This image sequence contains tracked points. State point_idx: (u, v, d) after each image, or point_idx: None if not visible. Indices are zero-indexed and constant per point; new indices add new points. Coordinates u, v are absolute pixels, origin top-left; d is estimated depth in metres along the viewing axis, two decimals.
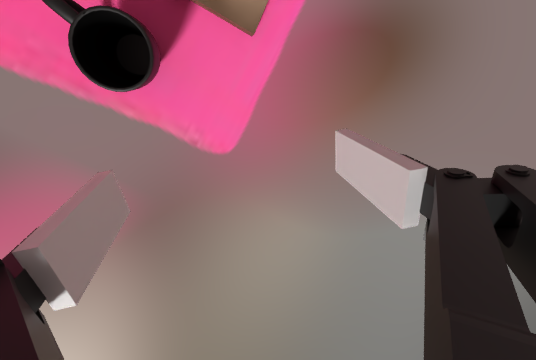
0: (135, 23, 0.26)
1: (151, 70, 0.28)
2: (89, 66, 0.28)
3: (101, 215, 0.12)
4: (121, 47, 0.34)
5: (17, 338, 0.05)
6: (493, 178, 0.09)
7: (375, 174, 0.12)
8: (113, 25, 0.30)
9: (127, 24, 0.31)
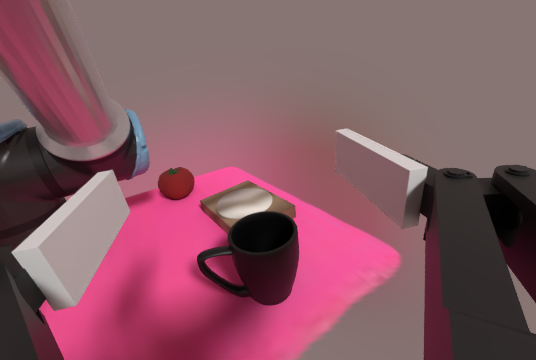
0: (254, 213, 0.33)
1: (288, 216, 0.31)
2: None
3: (101, 215, 0.12)
4: None
5: (17, 338, 0.05)
6: (493, 178, 0.09)
7: (375, 174, 0.12)
8: None
9: None
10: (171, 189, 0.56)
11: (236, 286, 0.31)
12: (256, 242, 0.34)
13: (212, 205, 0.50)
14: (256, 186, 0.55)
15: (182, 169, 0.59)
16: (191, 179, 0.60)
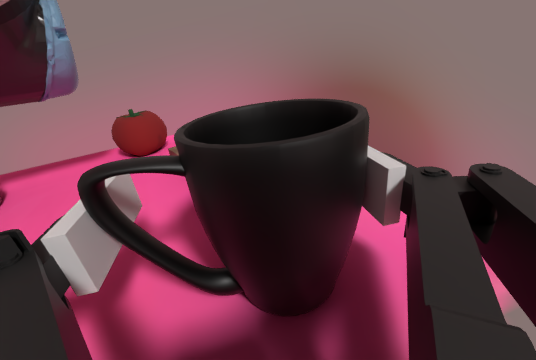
0: (250, 105, 0.14)
1: None
2: None
3: None
4: None
5: (44, 322, 0.06)
6: (468, 177, 0.09)
7: None
8: None
9: None
10: (129, 136, 0.38)
11: (204, 269, 0.13)
12: None
13: None
14: None
15: (147, 112, 0.41)
16: (161, 127, 0.41)
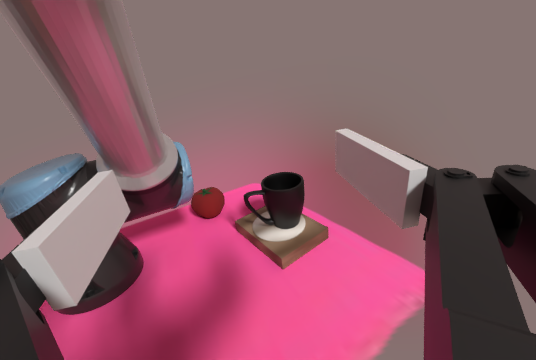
0: (275, 173, 0.52)
1: (297, 174, 0.51)
2: None
3: (101, 215, 0.12)
4: None
5: (16, 338, 0.05)
6: (493, 178, 0.09)
7: (375, 174, 0.12)
8: None
9: None
10: (205, 209, 0.59)
11: None
12: None
13: (248, 226, 0.53)
14: None
15: (214, 189, 0.62)
16: (222, 198, 0.63)
